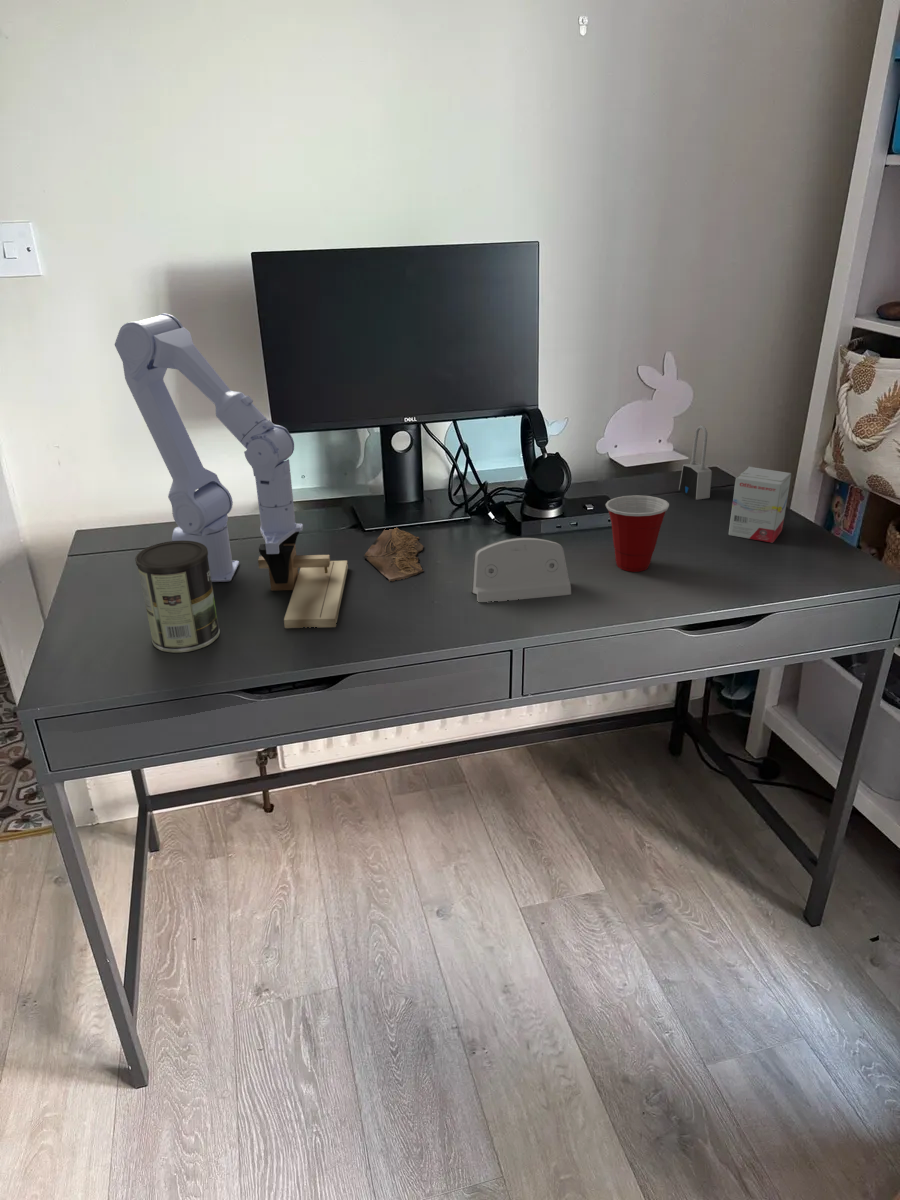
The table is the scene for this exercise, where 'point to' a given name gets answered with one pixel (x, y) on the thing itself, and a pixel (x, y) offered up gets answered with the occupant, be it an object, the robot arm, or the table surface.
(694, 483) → the padlock
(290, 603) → the board
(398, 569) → the wooden fragment
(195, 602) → the coffee can
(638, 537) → the plastic cup
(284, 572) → the robot arm
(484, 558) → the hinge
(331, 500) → the table surface
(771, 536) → the ink box
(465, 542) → the table surface
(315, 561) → the gauge
